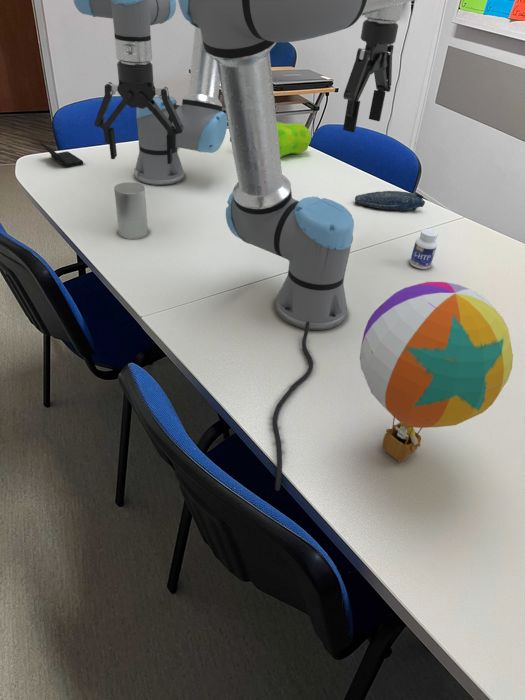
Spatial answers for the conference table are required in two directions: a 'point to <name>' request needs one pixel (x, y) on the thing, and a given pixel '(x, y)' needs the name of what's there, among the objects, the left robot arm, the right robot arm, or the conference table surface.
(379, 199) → the fish model
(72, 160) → the black handled piece
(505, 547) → the conference table surface
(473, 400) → the toy
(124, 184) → the can
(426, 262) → the pill bottle
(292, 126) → the decorative tree
